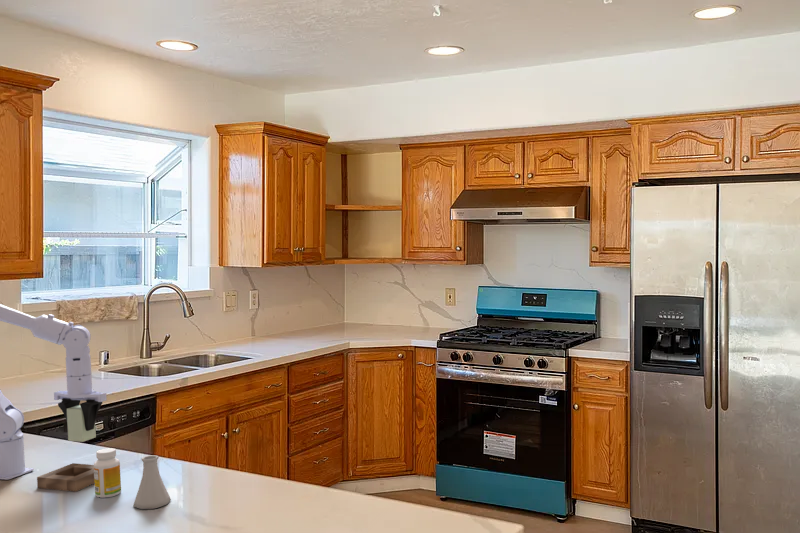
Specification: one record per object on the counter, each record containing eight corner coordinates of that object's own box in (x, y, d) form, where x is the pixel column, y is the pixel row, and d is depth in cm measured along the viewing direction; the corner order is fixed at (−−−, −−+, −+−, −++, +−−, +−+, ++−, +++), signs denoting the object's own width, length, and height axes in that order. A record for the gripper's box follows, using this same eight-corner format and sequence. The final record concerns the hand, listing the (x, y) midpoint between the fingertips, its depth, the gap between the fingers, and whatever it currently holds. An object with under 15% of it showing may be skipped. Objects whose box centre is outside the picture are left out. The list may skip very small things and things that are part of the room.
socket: (37, 487, 174) (36, 477, 174) (73, 473, 185) (72, 463, 184) (75, 491, 170) (75, 480, 170) (110, 476, 181) (109, 466, 181)
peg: (68, 440, 188) (66, 408, 188) (81, 436, 193) (79, 404, 192) (82, 441, 187) (81, 409, 187) (95, 437, 191) (94, 405, 191)
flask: (177, 499, 163) (175, 453, 162) (155, 511, 156) (153, 463, 155) (148, 497, 165) (146, 451, 165) (126, 508, 158) (124, 461, 158)
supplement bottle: (125, 490, 170) (123, 446, 170) (114, 498, 165) (112, 453, 165) (102, 490, 171) (100, 447, 171) (90, 498, 166) (88, 454, 165)
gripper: (113, 372, 191) (116, 426, 191) (67, 371, 195) (70, 424, 196) (93, 377, 184) (96, 433, 184) (46, 376, 189) (49, 430, 189)
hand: (81, 429), depth 190 cm, fingers closed on peg, 4 cm apart
